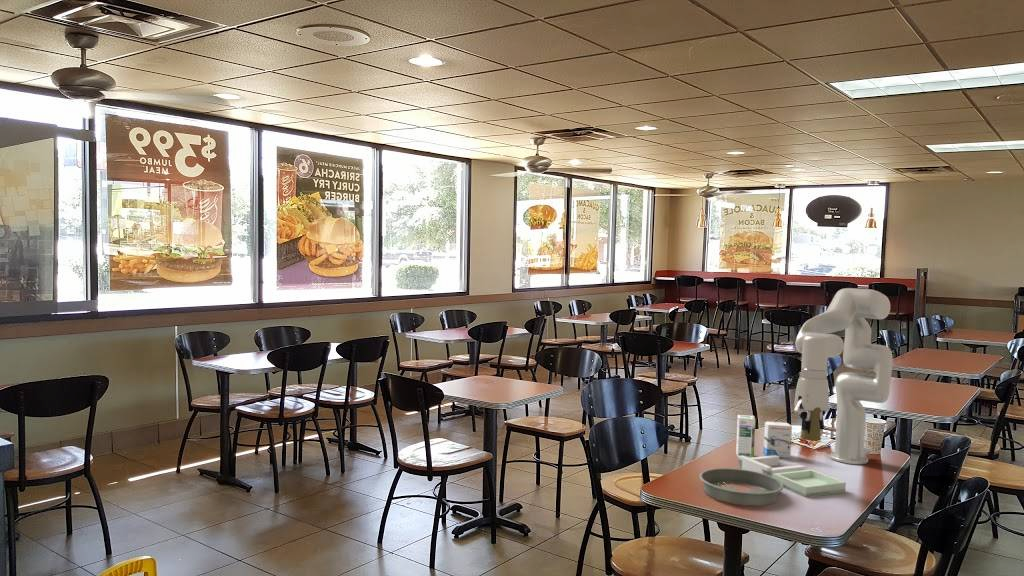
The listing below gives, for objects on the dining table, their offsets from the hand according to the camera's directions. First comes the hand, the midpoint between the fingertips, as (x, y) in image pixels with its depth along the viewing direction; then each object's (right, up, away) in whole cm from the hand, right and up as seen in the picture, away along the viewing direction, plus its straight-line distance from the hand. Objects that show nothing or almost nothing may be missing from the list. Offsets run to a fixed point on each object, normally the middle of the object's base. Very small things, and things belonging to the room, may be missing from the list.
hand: (810, 431), depth 231 cm
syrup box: (-10, -16, +34) cm, 38 cm away
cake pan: (-25, -18, -8) cm, 31 cm away
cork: (0, -2, 0) cm, 2 cm away
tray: (-1, -18, 0) cm, 18 cm away
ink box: (+2, -16, +35) cm, 39 cm away
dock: (-6, -17, +16) cm, 24 cm away
